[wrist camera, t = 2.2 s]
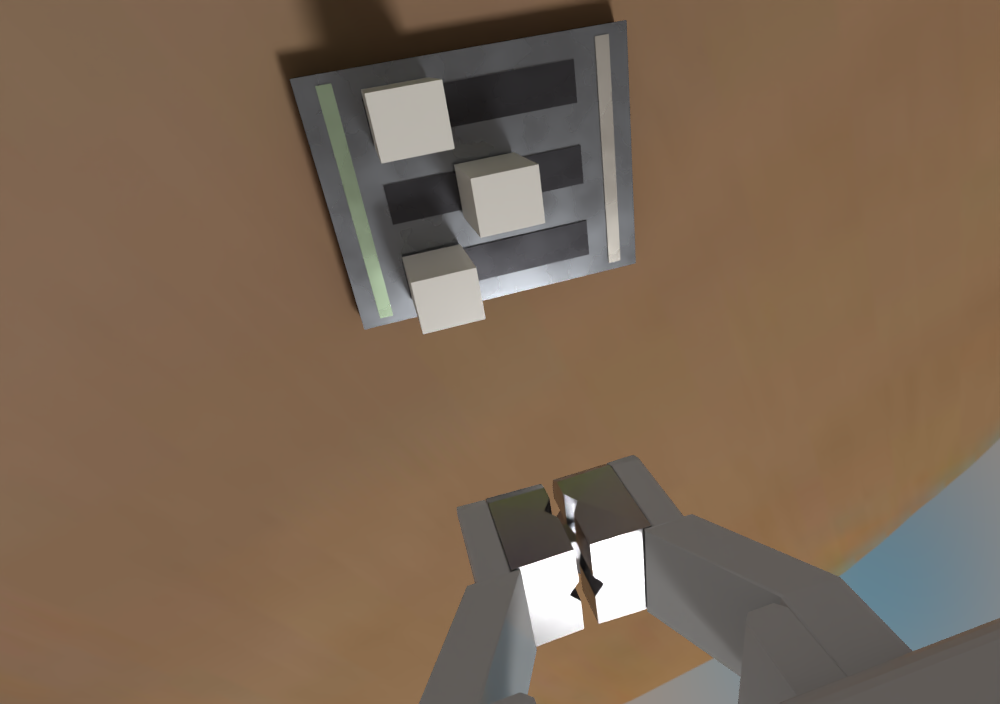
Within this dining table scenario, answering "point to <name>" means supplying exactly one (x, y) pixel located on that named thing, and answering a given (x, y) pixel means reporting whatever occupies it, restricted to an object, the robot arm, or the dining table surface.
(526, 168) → the block
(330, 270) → the dining table surface
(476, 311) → the breaker
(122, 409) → the dining table surface
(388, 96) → the block
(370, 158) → the panel
